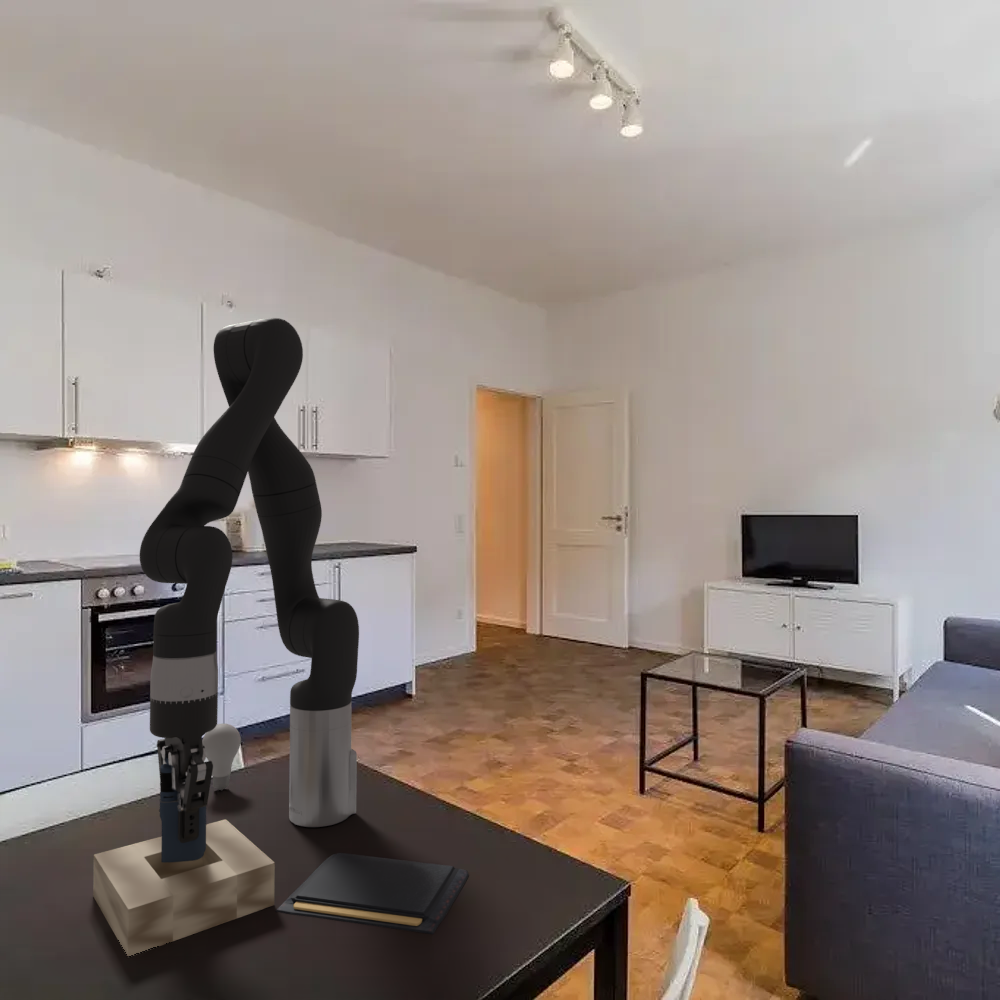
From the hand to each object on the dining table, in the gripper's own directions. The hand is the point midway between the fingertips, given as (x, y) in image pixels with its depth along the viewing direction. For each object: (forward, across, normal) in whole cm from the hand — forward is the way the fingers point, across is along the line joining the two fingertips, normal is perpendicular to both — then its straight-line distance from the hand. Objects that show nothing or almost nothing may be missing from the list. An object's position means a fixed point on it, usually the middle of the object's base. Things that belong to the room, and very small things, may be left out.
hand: (182, 833), depth 89 cm
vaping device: (+3, 0, 0) cm, 3 cm away
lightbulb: (+8, +32, -16) cm, 37 cm away
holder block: (+8, 0, 0) cm, 8 cm away
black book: (+9, -13, -19) cm, 25 cm away
